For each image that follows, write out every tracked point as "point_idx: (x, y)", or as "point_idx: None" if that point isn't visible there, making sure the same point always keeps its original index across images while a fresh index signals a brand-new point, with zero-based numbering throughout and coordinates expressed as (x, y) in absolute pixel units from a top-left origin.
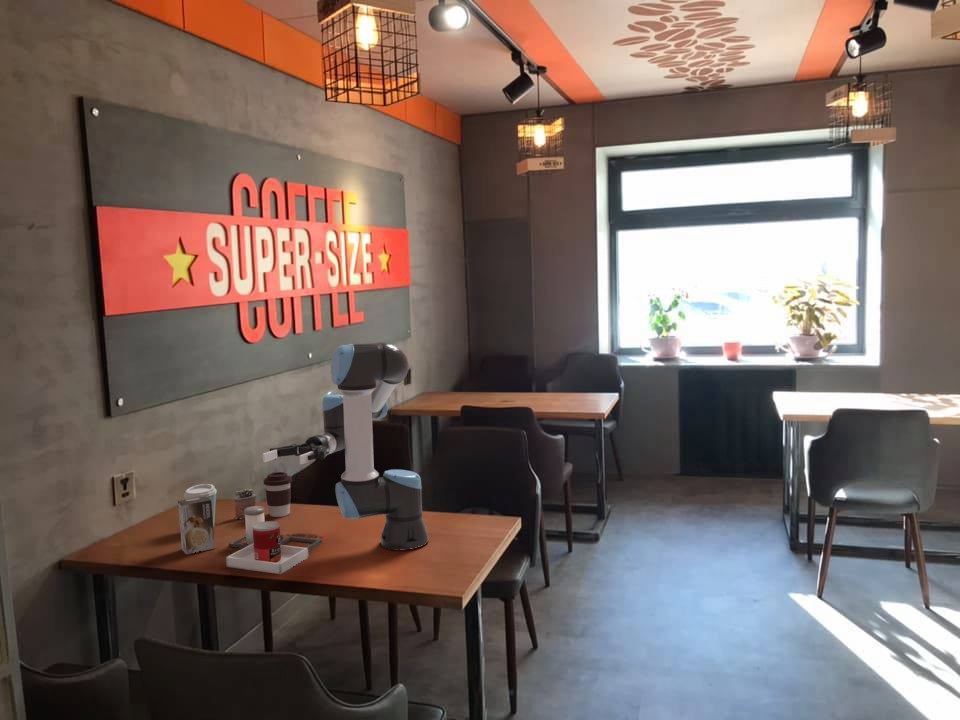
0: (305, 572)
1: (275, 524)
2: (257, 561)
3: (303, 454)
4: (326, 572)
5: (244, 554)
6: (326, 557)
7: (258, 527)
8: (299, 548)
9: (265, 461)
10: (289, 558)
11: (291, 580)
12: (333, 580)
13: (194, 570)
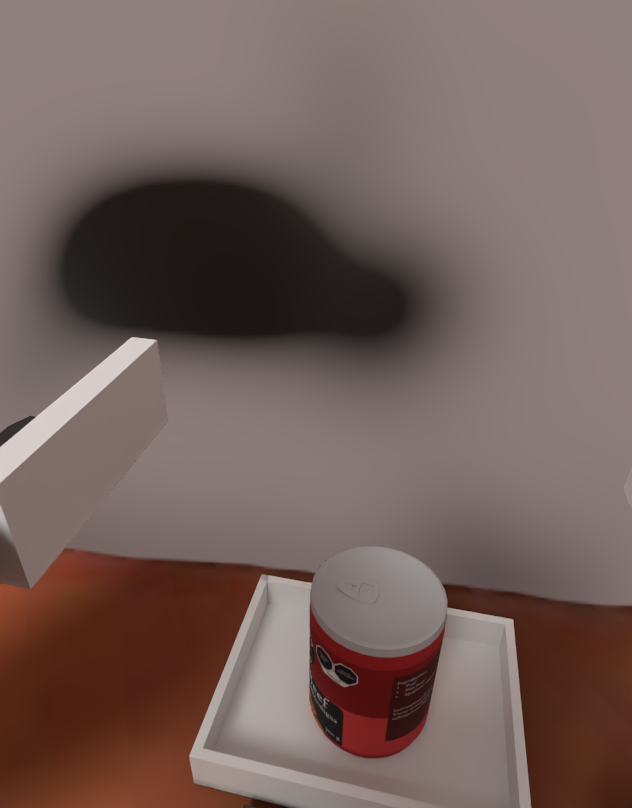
0: (175, 621)
1: (340, 618)
2: None
3: (112, 368)
4: (94, 626)
5: (507, 733)
6: (99, 795)
7: (407, 580)
8: (236, 758)
9: (629, 489)
10: (243, 625)
11: (210, 562)
12: (68, 570)
13: (596, 609)
